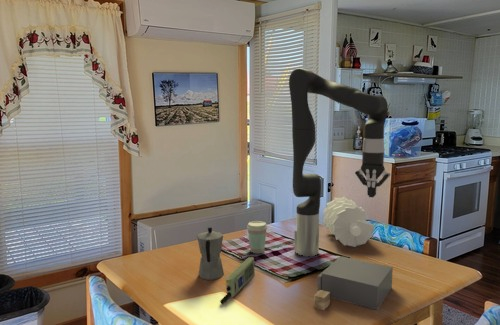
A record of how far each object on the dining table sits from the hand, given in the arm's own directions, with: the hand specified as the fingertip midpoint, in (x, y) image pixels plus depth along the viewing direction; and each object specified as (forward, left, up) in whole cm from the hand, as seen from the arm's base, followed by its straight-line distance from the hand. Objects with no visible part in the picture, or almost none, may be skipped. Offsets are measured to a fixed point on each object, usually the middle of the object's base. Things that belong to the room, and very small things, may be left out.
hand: (371, 196), depth 151 cm
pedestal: (-3, -38, -27) cm, 47 cm away
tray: (+1, -23, -26) cm, 35 cm away
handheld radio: (-32, -42, -28) cm, 59 cm away
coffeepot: (-46, -39, -27) cm, 66 cm away
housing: (+3, -23, -27) cm, 36 cm away
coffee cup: (-45, -9, -27) cm, 53 cm away
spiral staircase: (-18, +24, -27) cm, 41 cm away
